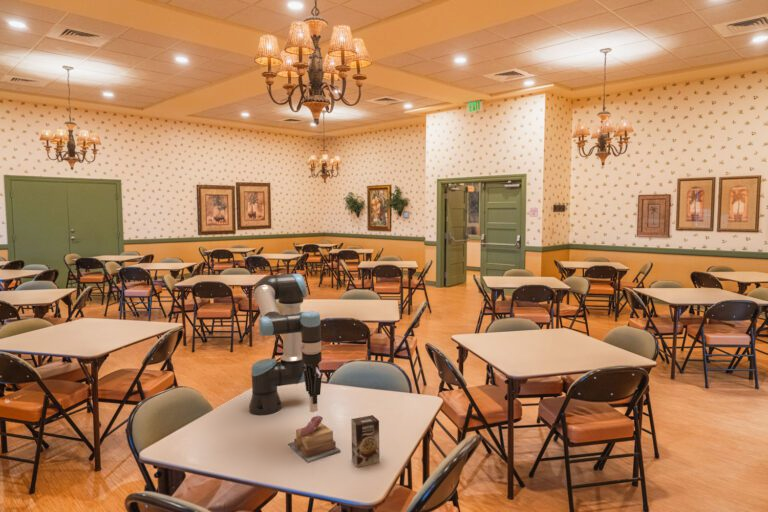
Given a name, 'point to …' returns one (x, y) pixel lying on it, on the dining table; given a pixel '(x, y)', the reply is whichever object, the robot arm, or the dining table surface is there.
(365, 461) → the coffee box
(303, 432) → the video game controller
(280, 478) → the dining table surface
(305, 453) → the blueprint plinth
